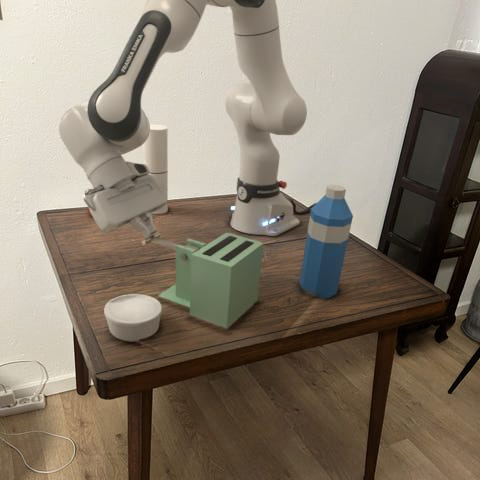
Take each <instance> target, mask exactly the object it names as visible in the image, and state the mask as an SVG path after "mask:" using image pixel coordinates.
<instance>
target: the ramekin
mask: <svg viewBox="0 0 480 480" xmlns="http://www.w3.org/2000/svg"><path fill="white" fill-rule="evenodd" d="M103 313H104V317H105V319H106V323H107V326H108V329H109V332H110V334H111V335H112V336H113V337H115V338H116V339H118V340H120V341H123V342H127V343H134V342H135V343H136V342H137V343H138V342H142V340H144V339H147V338H149V337H151V336H153V335H155V334H156V333H157V331H158V330H159V327H160V321H161V316H162V313H163V306H162V303H161V302H160V301H159V300H158V299H156V298H155V297H152V296H150V295H146V294H140V293H139V294H138V293H131V294H129V293H128V294H124V295H123V294H122V295H119V296H117V297H113V298H112V299H109V301H108V302H106V304H105V306H104V309H103Z"/></svg>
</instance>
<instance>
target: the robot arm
mask: <svg viewBox="0 0 480 480" xmlns="http://www.w3.org/2000/svg"><path fill="white" fill-rule="evenodd" d="M208 5H209V6H211V7H215V8H216V7H217V8H228V7H229V8H230V10H231V12H232V13H231V15H232V25H233V27H232V28H233V34H234V35H233V36H234V42H235V43H234V44H235V50H236V57H237V58H236V59H237V64H238V67H239V69H240V71H241V73H243V74H244V75H245V77H246V78H247V80H248V81H249V82H243V83H242V82H241V83H236V84H234V85H233V86H231V87H230V88H229V90H228V92H227V94H226V97H225V110H226V114H227V115H228V117H229V118H230V119H231V122H232V124H233V125H234V128H235V131H236V135H237V138H238V143H239V152H240V154H239V155H240V156H239V157H240V158H239V175H238V176H239V177H237V182H236V198H235V202H234V206H231V207H230V210H231V211H233V212H232V214H231V220H230V223H229V225H230V226H231V228H232V229H234V230H236V231H238V232H241V233H244V234H249V235H258V236H259V235H261V236H269V237H276V236H278V235H280V234H282V233H285V232H287V231H289V230H291V229H293V228H294V227H297V226H299V225H300V220H299V219H298V217H296V216H295V215H304V214H308V213H309V212H310V211H311V208H312V207H313V206H314V205H315V204H316V203H317V202H315V203H313V204H311V205H310V206H308V207H307V208H306V209H305V210H301V211H297V209H296V208H297V206H296V203H295V202H294V199H292V198H290V197H286V196H285V195H283V194H282V193H281V189H282V190H285V189H286V188H287V186H288V183H287V182H286V181H283V180H279V181H278V175H279V168H280V167H279V166H280V152H279V150H278V148H277V147H276V146H275V144H274V143H273V140H272V137H271V134H273V135H276V136H293V135H296V134H298V133H299V132H300V131H301V130H302V128H303V127H304V125H305V123H306V120H307V115H308V110H307V109H308V108H307V104H306V101H305V100H304V98H303V97H301V95H300V94H299V93H298V92H297V90H296V89H295V87H294V85H293V83H292V82H291V80H290V77H289V75H288V72H287V69H286V66H285V63H284V59H283V51H282V44H281V42H282V41H281V33H280V21H279V20H280V19H279V12H278V6H277V5H278V4H277V0H146V2H145V5H144V8H143V10H142V13H141V16H140V17H139V19H138V21H137V23H136V25H135V27H134V29H133V31H132V33H131V35H130V36H129V39H128V40H127V43H126V44H125V46H124V48H123V50H122V52H121V53H120V54H121V55H120V56H119V58H118V61H117V63H116V65H115V67H113V70H112V72H111V73H110V75H109V76H108V77H107V78H106V80H105V81H103V82H102V83H101V84H100V85H99V86H98V87H97V88H96V89H95V90H94V91H93V92H92V94H91V95H90V97H89V100H88V103H87V106H84V105H75V106H73V107H72V108H70V109H68V110H67V111H66V112H65V113H64V114H63V116H62V117H61V119H60V122H59V124H58V133H59V135H60V138H61V141H62V142H63V144H64V146H65V147H66V150H67V151H68V152H69V154H70V156H71V157H72V158H73V160H74V162H75V163H76V164H77V165H78V166H79V167H80V168H82V171H83V172H84V173H85V176H86V178H87V180H88V181H89V183H90V185H91V186H92V188H88V189H86V190H85V191H84V193H83V197H82V198H83V199H82V200H83V201H84V203H85V205H86V206H87V207H88V208H87V209H89V210H90V212H91V214H92V216H91V217H92V218H93V220H94V222H95V223H96V225H97V226H98V228H99V229H100V230H101V231H102V232H104V233H106V234H107V233H109V232H113V231H114V230H117V229H119V228H121V227H124V226H125V225H127V224H129V225H130V226H131V228H133V229H134V230H136V231H138V232H139V233H140V234H141V235H142V236H143V237H144V239H146V238H148V237H150V236H152V235H153V234H155V233H158V228H157V227H156V226H155V225H154V220H153V214H150V213H152V212H154V211H157V210H159V209H161V208H162V207H163V206H164V205H165V204H167V202H169V200H168V199H169V198H168V199H167V195H166V193H165V192H164V190H163V189H162V187H161V186H160V184H159V183H158V182H157V180H156V179H155V178H154V177H153V176H151V175H148V173H149V172H150V170H149V168H148V167H147V166H146V165H145V164H143V163H138V162H132V161H127V160H125V159H124V157H123V156H122V155H125V154H128V153H130V152H132V151H134V150H136V149H137V148H140V147H141V146H143V144H144V142H145V141H146V140H147V138H148V136H149V132H150V125H149V124H150V121H149V118H148V117H147V115H146V113H145V111H144V109H143V108H142V97H143V93H144V90H145V88H146V87H147V84H148V82H149V80H150V78H151V76H152V74H153V72H154V70H155V68H156V66H157V64H158V62H159V60H160V59H161V57H162V56H163V55H164V54H166V53H168V54H173V53H178V52H182V51H183V50H185V48H186V47H187V46H188V44H189V43H190V41H191V40H192V38H193V37H194V35H195V33H196V31H197V29H198V27H199V25H200V22H201V20H202V18H203V15H204V13H205V10H206V7H207V6H208ZM280 188H281V189H280ZM294 214H295V215H294ZM143 222H144V223H143Z"/></svg>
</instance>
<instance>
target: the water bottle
mask: <svg viewBox="0 0 480 480" xmlns="http://www.w3.org/2000/svg"><path fill="white" fill-rule="evenodd" d="M346 193H347V188H345V186H343V185H339V184H328V185H327V186H326V189H325V194H324V195H323V197H321V198H320V199H319V200H318V201H317V202H315V203H316V204H315V203H314V204H315V205H314V206H313V207H312V208H311V209H310V214H309V215H310V216H309V218H308V219H309V220H308V226H307V232H306V240H305V245H304V251H303V257H302V264H301V271H300V275H299V282H298V284H299V285H300V286H301V289H302V290H303V291H306V292H309V293H310V294H313V295H317V296H316V297H315V298H316V299H330V298H332V297H333V296H334V295H337V294H338V291H339V285H340V280H341V276H342V271H343V266H344V261H345V256H346V251H347V247H348V242H349V237H350V232H351V227H352V222H353V219H354V218H353V217H354V215H353V213H352V211H351V209H350V207H349V204H348V203H347V200H346V198H345V197H346Z"/></svg>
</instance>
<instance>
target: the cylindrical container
mask: <svg viewBox="0 0 480 480" xmlns="http://www.w3.org/2000/svg"><path fill="white" fill-rule="evenodd" d="M149 125H150V132H149V136H148V138H147V140H146V141H145V142H144V144H142V161H143V163H142V164H145V165H146V166H147V167H148V168H149V170H150V172H149V173H148V175H151V176H153V177H154V178H155V179H156V180H157V182H158V183H159V184H160V186H161V187H162V189H163V190H164V192H165V193H166V195H167V199H169V198H168V197H169V194H168V193H169V191H168V187H169V185H168V184H169V182H168V179H169V178H168V177H169V176H168V173H169V171H168V170H169V169H168V168H169V167H168V166H169V165H168V164H169V163H168V158H169V157H168V126H166V125H163V124H155V123H152V124H151V123H149ZM168 202H169V201H168ZM168 202H167V204H165V205H164V206H163V207H162V208H161V209H159V210H157V211H154V212H152V213H150V214H151V215H163V214H166V213H168V211H169V210H168V209H169V208H168V207H169V205H168Z"/></svg>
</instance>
